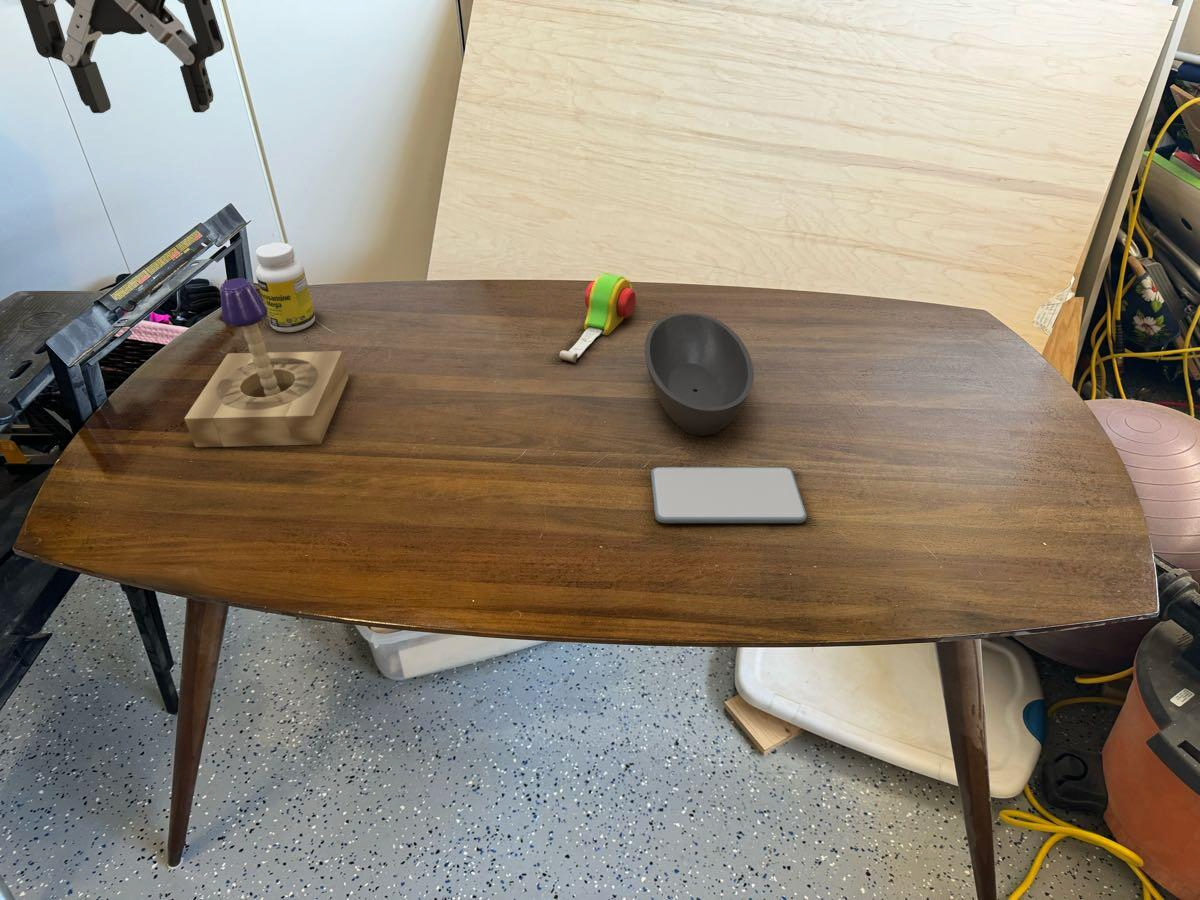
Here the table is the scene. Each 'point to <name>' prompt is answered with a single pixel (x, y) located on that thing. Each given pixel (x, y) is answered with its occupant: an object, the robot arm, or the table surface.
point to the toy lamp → (249, 326)
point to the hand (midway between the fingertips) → (152, 110)
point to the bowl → (698, 371)
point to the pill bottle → (284, 288)
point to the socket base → (269, 401)
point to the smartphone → (726, 495)
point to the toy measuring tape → (603, 310)
